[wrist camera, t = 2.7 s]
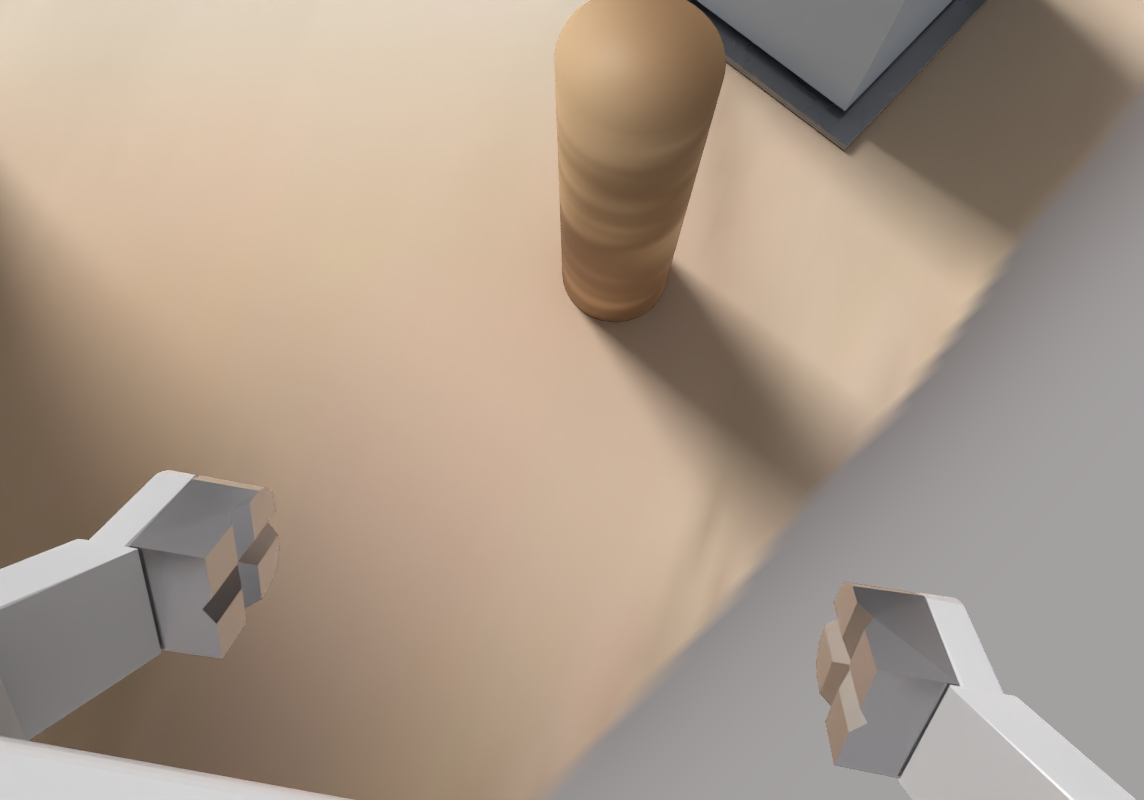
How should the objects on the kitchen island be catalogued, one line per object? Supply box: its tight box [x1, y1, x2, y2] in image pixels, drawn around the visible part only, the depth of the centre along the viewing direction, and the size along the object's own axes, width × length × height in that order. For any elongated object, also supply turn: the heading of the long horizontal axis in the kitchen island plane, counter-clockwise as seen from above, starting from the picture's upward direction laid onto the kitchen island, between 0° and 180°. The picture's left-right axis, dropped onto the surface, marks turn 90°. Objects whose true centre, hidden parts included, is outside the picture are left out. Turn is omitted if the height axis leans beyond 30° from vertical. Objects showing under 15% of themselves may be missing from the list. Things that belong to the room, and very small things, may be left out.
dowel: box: [555, 0, 726, 322], centre depth 24 cm, size 4×4×12 cm
